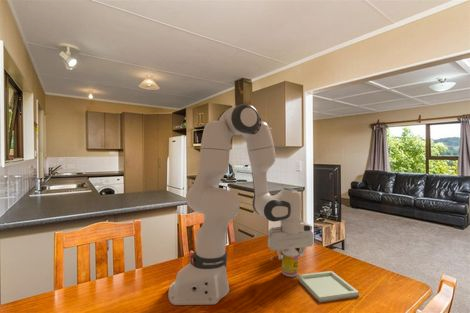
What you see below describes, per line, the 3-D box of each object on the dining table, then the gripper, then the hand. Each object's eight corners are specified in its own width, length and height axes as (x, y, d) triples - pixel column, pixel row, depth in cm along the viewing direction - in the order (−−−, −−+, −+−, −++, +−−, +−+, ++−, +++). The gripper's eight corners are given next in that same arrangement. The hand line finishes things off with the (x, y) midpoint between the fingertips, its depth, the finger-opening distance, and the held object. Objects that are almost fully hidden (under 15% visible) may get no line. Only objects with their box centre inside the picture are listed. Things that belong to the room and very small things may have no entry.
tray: (319, 302, 86) (319, 297, 86) (297, 279, 101) (297, 274, 101) (358, 296, 89) (358, 291, 89) (331, 275, 105) (331, 270, 105)
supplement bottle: (294, 279, 101) (295, 248, 101) (279, 274, 105) (280, 244, 104) (299, 272, 107) (300, 243, 107) (285, 268, 110) (285, 240, 110)
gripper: (271, 230, 100) (271, 263, 100) (315, 226, 105) (315, 258, 105) (265, 225, 106) (265, 257, 107) (308, 222, 111) (307, 252, 111)
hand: (290, 257), depth 106 cm, fingers open, 8 cm apart
